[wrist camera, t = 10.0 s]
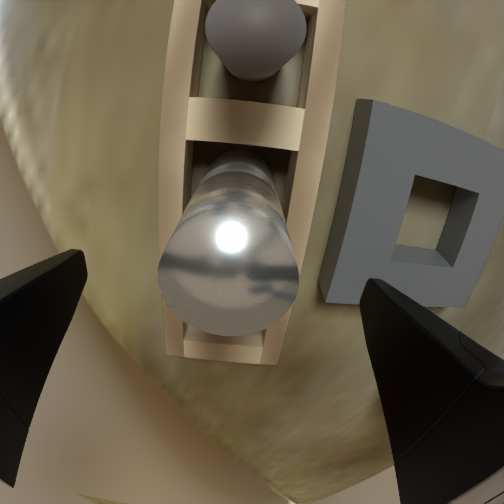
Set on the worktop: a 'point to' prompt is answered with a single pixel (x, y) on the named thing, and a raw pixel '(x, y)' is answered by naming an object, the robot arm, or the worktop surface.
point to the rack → (246, 128)
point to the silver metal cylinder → (231, 251)
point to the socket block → (395, 202)
